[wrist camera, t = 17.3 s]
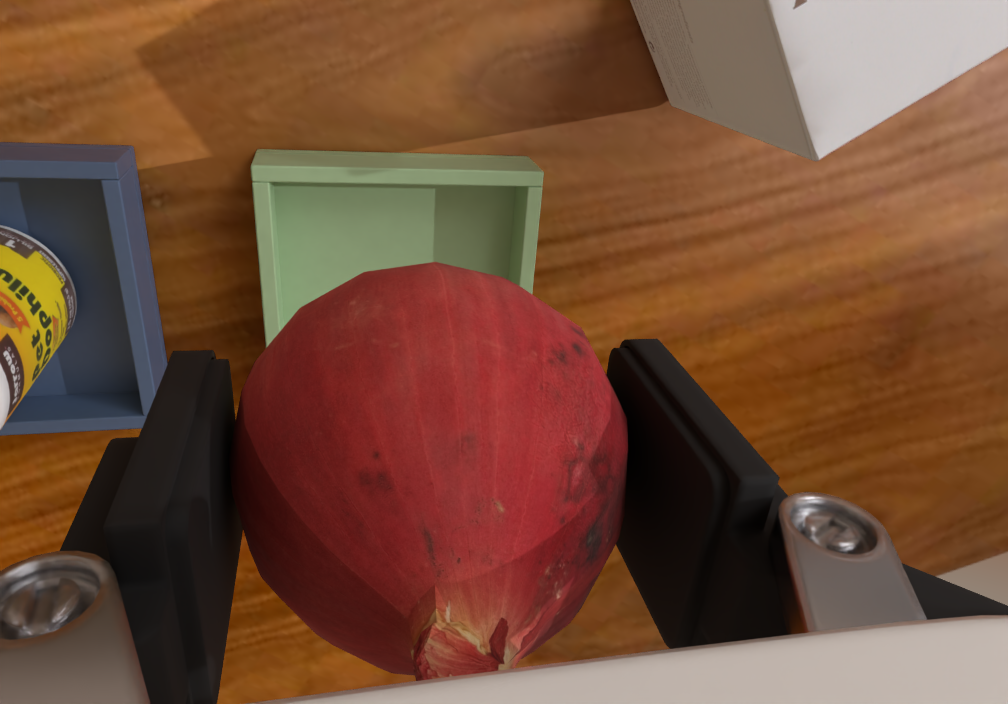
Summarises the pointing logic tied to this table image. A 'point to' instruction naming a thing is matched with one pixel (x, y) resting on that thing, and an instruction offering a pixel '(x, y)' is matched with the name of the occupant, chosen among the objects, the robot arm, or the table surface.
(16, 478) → the table surface
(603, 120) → the table surface
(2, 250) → the supplement bottle
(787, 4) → the small box
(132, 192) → the slate tray
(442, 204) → the green tray
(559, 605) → the onion
